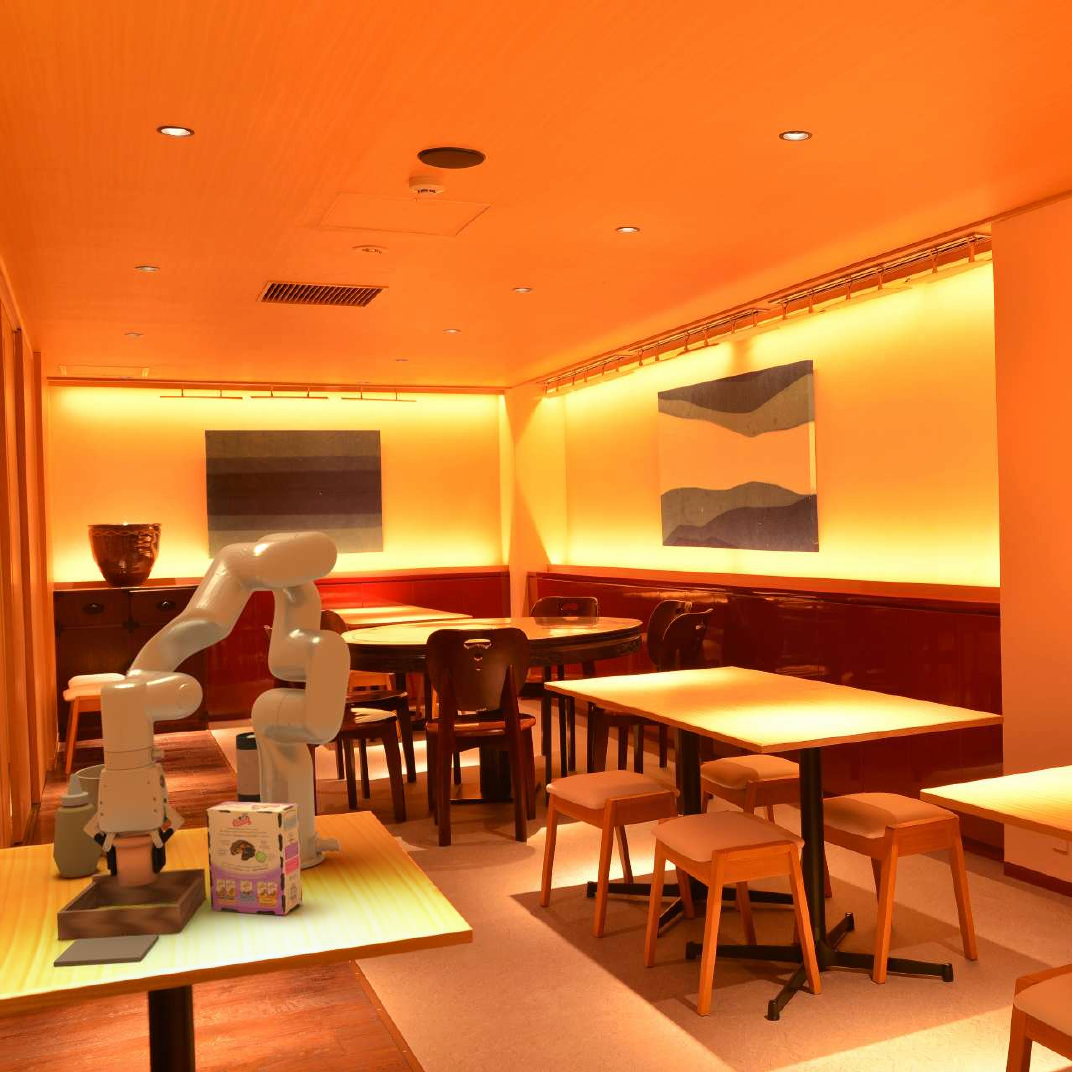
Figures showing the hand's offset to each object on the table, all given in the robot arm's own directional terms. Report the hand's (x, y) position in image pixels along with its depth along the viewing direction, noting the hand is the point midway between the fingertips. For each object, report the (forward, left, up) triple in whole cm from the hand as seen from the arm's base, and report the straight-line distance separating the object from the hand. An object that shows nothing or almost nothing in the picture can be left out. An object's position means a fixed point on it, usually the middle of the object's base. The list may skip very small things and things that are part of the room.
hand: (137, 871), depth 177 cm
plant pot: (+16, -40, -7) cm, 44 cm away
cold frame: (0, +1, -7) cm, 7 cm away
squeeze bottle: (+19, -26, -7) cm, 33 cm away
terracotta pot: (0, 0, -1) cm, 1 cm away
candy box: (-18, -1, -7) cm, 20 cm away
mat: (0, +15, -7) cm, 17 cm away
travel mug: (-9, -48, -7) cm, 50 cm away
